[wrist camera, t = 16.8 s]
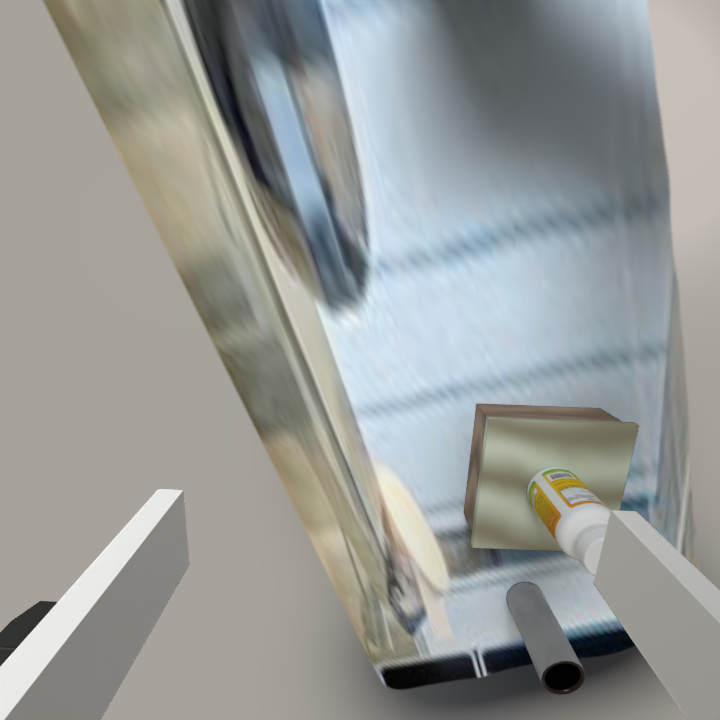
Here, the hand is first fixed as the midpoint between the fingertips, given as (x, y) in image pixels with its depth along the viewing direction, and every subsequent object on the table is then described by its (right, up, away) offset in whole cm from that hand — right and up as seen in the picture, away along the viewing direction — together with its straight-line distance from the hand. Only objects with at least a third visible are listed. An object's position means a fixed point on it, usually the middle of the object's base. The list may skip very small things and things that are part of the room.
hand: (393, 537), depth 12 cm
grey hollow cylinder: (+20, -25, +39) cm, 50 cm away
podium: (+19, -6, +34) cm, 39 cm away
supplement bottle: (+19, -8, +28) cm, 35 cm away
